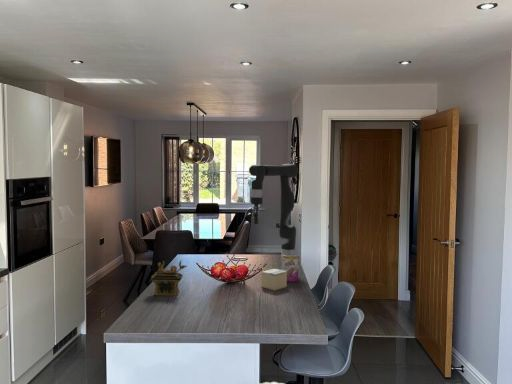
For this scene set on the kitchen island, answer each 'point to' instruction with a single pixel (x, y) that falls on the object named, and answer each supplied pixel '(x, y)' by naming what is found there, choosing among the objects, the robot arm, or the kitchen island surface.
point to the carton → (274, 281)
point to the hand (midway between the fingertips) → (256, 223)
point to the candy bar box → (290, 267)
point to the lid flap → (274, 271)
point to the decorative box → (167, 280)
